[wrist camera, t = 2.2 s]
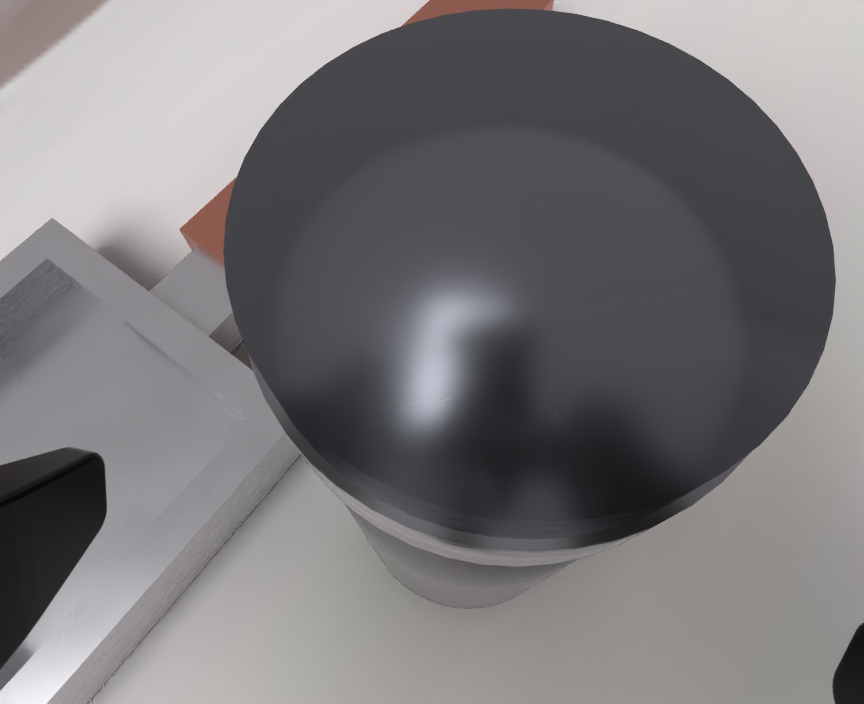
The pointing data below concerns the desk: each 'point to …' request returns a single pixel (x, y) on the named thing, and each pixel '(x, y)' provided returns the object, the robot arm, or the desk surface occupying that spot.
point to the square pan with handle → (136, 428)
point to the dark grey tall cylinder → (523, 288)
